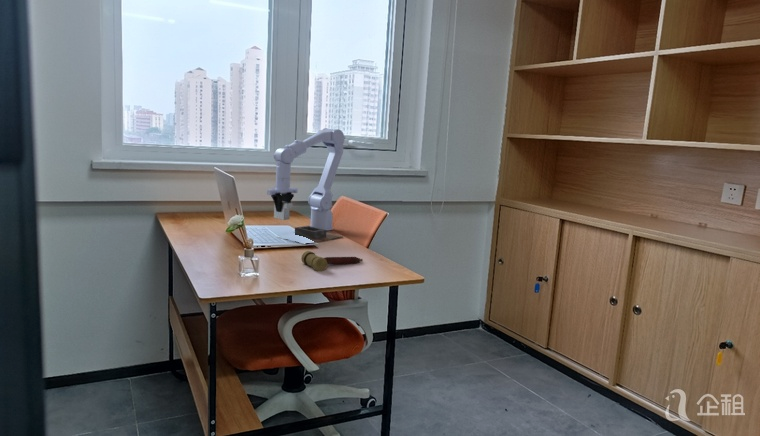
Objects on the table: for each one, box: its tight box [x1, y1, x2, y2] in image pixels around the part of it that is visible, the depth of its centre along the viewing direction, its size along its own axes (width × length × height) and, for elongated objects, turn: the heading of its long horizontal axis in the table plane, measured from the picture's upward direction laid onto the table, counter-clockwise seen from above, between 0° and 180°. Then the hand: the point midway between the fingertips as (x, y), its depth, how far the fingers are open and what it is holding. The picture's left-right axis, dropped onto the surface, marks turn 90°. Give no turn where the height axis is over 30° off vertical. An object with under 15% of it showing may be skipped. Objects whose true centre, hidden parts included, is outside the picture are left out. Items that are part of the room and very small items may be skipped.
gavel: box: [301, 250, 364, 272], centre depth 181 cm, size 21×5×10 cm
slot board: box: [294, 225, 344, 243], centre depth 220 cm, size 22×16×4 cm
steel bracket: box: [273, 201, 293, 221], centre depth 222 cm, size 3×8×7 cm, turn 52°
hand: (281, 211), depth 222 cm, fingers closed on steel bracket, 3 cm apart
